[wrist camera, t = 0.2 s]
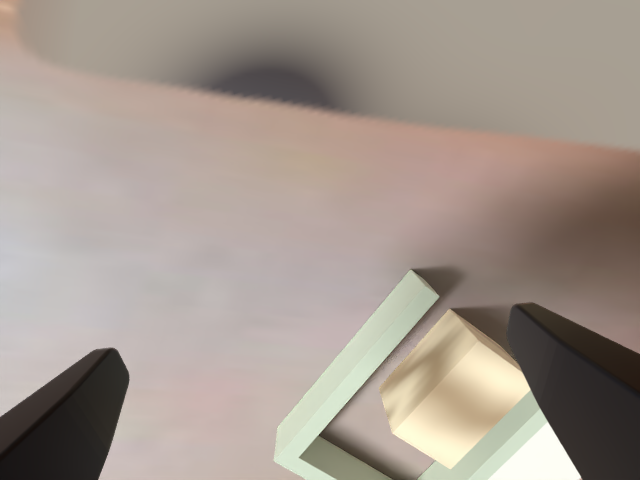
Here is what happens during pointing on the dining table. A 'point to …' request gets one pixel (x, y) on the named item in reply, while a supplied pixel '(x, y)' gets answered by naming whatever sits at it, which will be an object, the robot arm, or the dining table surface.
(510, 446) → the shelf bay
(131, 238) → the dining table surface
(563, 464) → the stand
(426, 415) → the block
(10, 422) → the robot arm
